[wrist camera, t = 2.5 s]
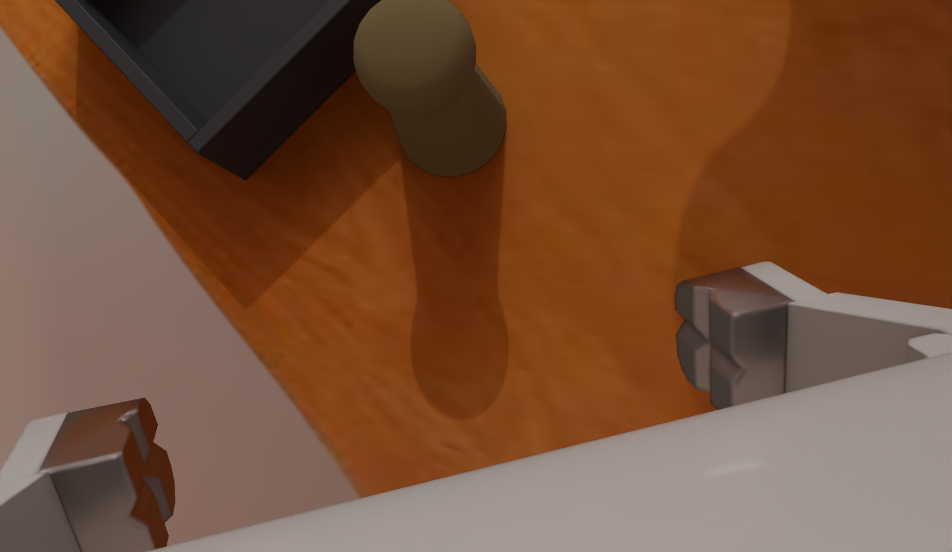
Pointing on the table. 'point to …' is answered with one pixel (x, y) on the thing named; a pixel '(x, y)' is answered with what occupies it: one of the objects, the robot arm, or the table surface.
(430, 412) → the table surface
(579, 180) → the table surface
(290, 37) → the open box
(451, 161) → the cork
